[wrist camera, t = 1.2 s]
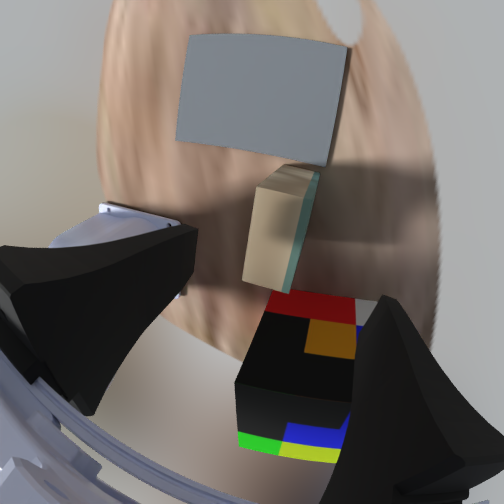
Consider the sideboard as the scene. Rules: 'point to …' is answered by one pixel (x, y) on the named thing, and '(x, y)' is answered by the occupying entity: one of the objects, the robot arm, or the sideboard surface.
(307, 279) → the sideboard surface
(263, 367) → the puzzle toy
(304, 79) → the mat
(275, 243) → the tile
